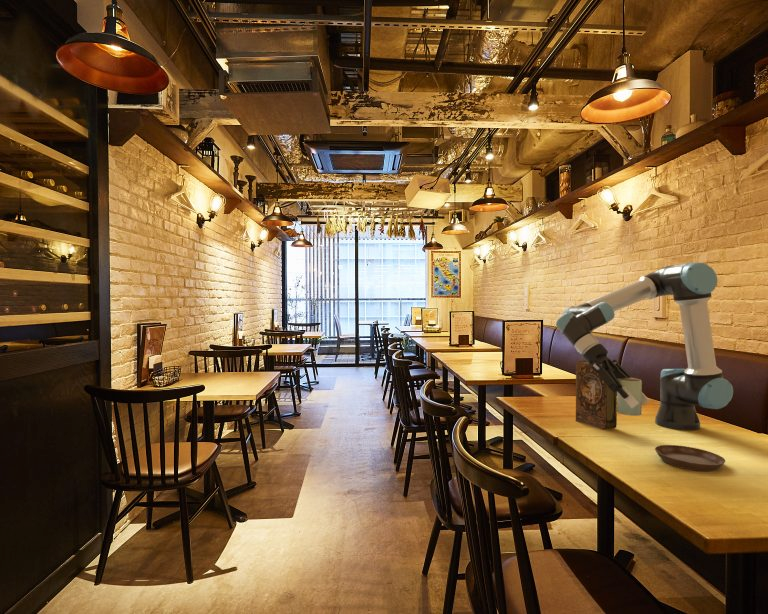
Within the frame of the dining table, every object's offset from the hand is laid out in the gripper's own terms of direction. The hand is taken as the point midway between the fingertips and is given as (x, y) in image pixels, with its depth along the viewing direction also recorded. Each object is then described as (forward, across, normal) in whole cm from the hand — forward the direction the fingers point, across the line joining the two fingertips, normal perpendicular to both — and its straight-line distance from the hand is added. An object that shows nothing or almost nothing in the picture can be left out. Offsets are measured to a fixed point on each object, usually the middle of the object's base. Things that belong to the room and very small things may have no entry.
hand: (640, 404), depth 141 cm
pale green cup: (0, 0, -5) cm, 5 cm away
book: (-8, -25, -31) cm, 41 cm away
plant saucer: (+20, -4, -3) cm, 21 cm away
